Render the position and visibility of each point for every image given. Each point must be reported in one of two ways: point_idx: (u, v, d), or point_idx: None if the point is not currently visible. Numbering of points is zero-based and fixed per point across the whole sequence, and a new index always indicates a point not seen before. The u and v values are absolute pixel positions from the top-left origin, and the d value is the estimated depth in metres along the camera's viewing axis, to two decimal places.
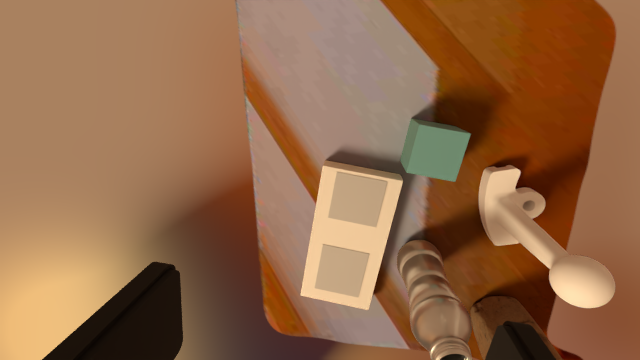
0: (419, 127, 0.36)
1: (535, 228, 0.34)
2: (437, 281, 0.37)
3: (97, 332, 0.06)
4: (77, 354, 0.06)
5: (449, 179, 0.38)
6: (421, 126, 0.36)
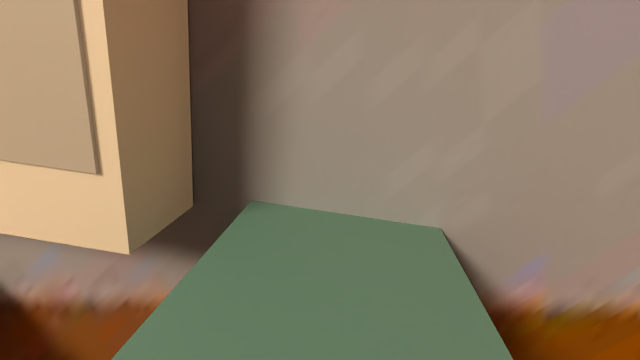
0: None
1: None
2: None
3: None
4: None
5: None
6: None
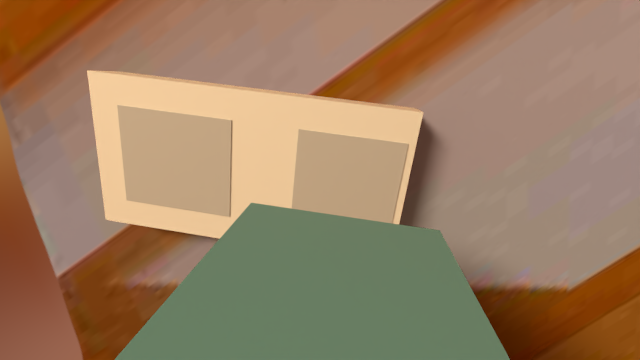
0: None
1: None
2: None
3: None
4: None
5: None
6: None
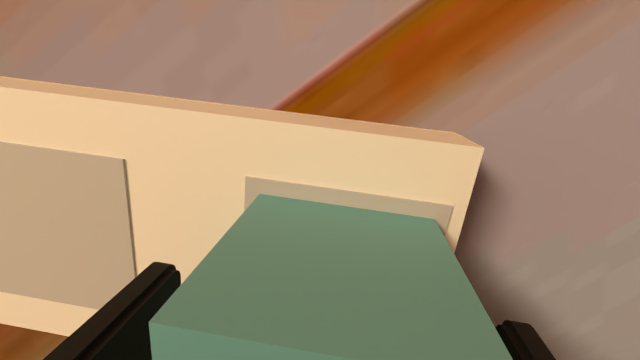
0: None
1: None
2: None
3: (98, 332, 0.06)
4: (78, 354, 0.06)
5: None
6: None
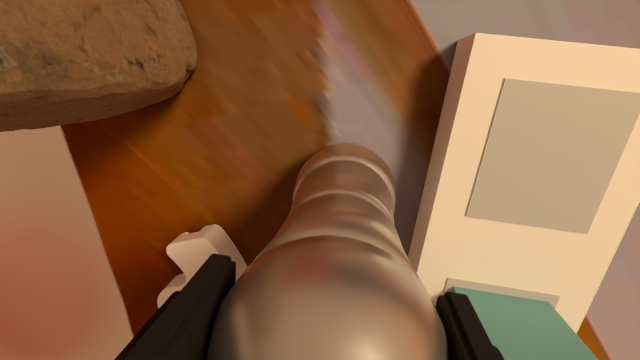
0: None
1: None
2: None
3: (182, 314, 0.07)
4: (171, 332, 0.06)
5: None
6: None
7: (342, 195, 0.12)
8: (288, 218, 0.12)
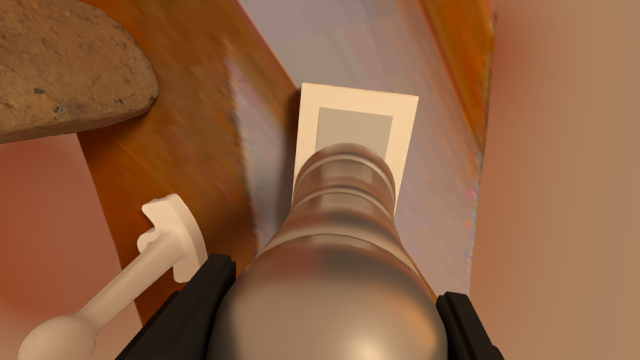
0: None
1: None
2: None
3: (182, 314, 0.07)
4: (171, 332, 0.06)
5: None
6: None
7: (342, 194, 0.12)
8: (288, 217, 0.12)
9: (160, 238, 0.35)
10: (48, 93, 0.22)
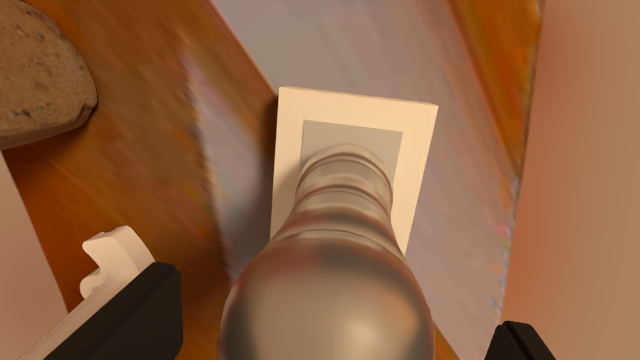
0: None
1: None
2: None
3: (98, 332, 0.06)
4: (78, 355, 0.06)
5: None
6: None
7: (341, 193, 0.13)
8: (291, 214, 0.13)
9: (103, 286, 0.28)
10: None
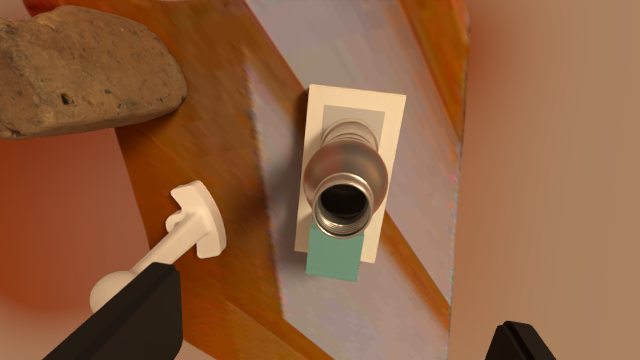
0: (355, 279, 0.35)
1: None
2: None
3: (97, 332, 0.06)
4: (77, 355, 0.06)
5: (316, 230, 0.34)
6: (354, 280, 0.35)
7: None
8: None
9: (187, 217, 0.41)
10: (113, 93, 0.28)
